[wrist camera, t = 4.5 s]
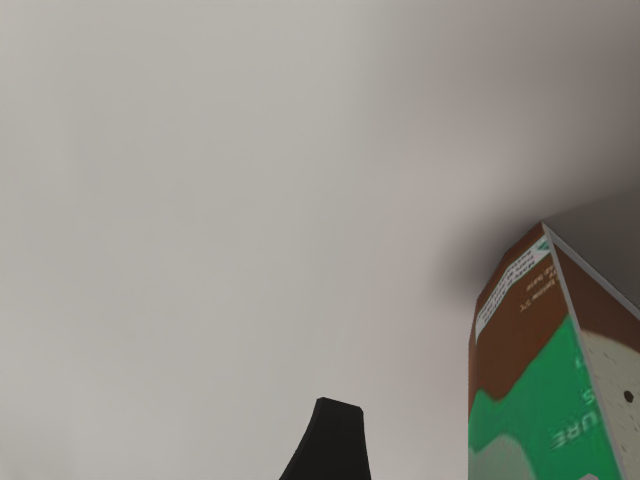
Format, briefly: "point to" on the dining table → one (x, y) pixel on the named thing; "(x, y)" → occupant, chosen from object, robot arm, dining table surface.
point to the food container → (553, 370)
